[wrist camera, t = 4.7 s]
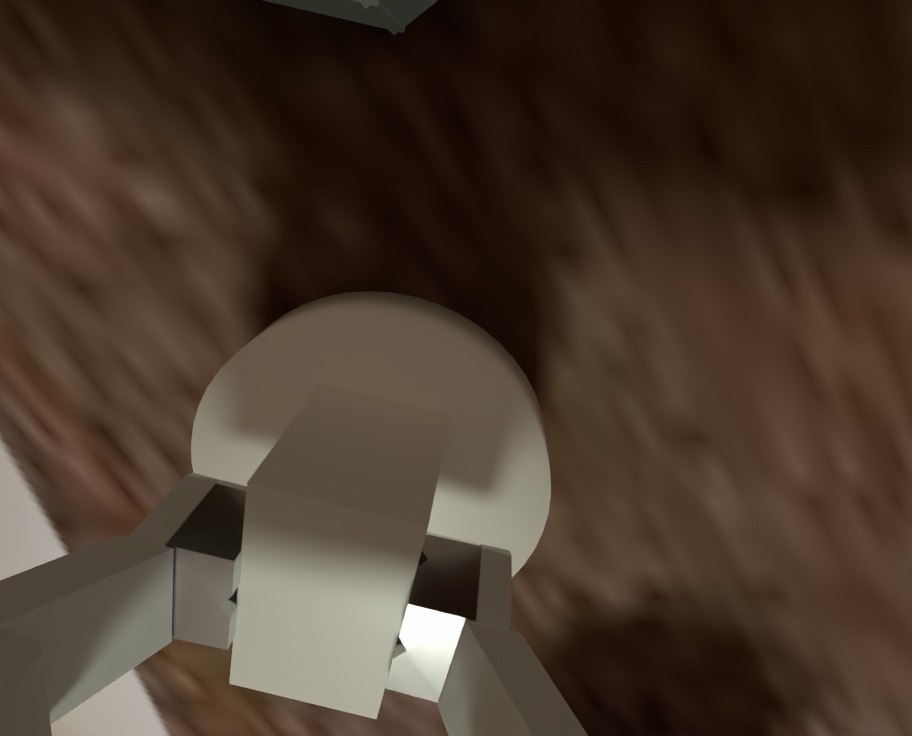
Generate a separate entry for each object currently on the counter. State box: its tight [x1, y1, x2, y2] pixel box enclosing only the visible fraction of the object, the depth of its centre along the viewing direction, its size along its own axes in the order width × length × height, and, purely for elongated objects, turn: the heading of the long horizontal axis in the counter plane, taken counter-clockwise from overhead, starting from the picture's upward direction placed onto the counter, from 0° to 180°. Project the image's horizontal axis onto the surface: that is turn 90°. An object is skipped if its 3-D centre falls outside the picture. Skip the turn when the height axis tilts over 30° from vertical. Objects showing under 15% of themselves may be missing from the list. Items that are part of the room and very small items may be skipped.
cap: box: [191, 291, 551, 719], centre depth 10 cm, size 7×7×4 cm
